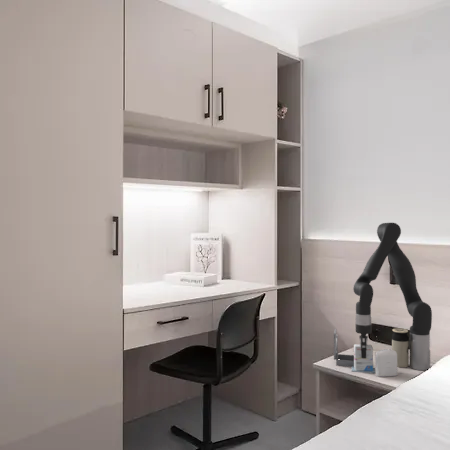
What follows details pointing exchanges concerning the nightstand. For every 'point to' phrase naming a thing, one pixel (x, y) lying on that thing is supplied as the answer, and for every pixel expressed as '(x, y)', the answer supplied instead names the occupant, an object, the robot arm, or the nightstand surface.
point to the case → (342, 355)
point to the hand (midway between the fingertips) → (363, 355)
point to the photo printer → (386, 363)
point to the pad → (363, 371)
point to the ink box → (361, 362)
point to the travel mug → (401, 346)
